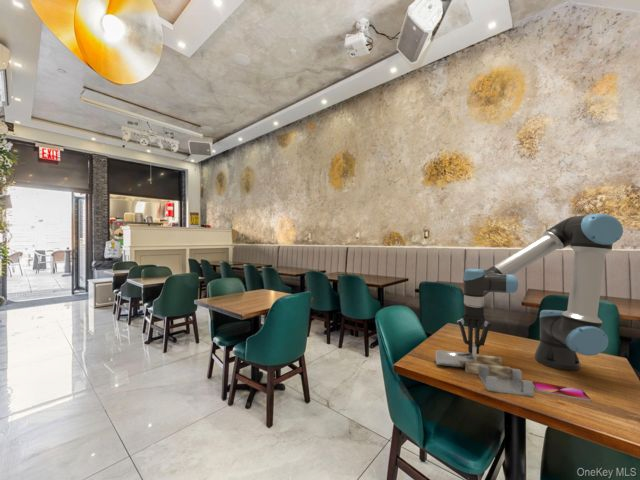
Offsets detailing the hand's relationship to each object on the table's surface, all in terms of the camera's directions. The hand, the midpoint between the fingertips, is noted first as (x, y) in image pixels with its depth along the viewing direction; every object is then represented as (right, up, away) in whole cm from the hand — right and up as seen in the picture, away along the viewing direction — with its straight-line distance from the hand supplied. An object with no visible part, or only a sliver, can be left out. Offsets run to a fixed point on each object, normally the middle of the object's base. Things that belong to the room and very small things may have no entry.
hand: (473, 360), depth 116 cm
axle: (-7, -3, +2) cm, 8 cm away
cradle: (+3, -3, -14) cm, 15 cm away
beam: (+4, -3, -1) cm, 5 cm away
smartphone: (+21, -4, -18) cm, 28 cm away
